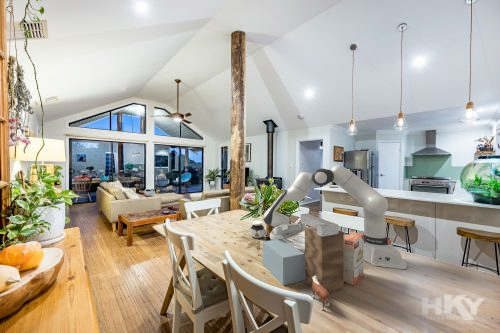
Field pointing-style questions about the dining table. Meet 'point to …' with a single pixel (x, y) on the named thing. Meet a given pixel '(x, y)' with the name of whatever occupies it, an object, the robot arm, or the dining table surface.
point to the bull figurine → (320, 292)
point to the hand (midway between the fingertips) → (295, 225)
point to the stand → (324, 259)
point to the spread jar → (258, 230)
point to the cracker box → (353, 257)
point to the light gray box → (320, 225)
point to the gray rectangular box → (284, 261)
